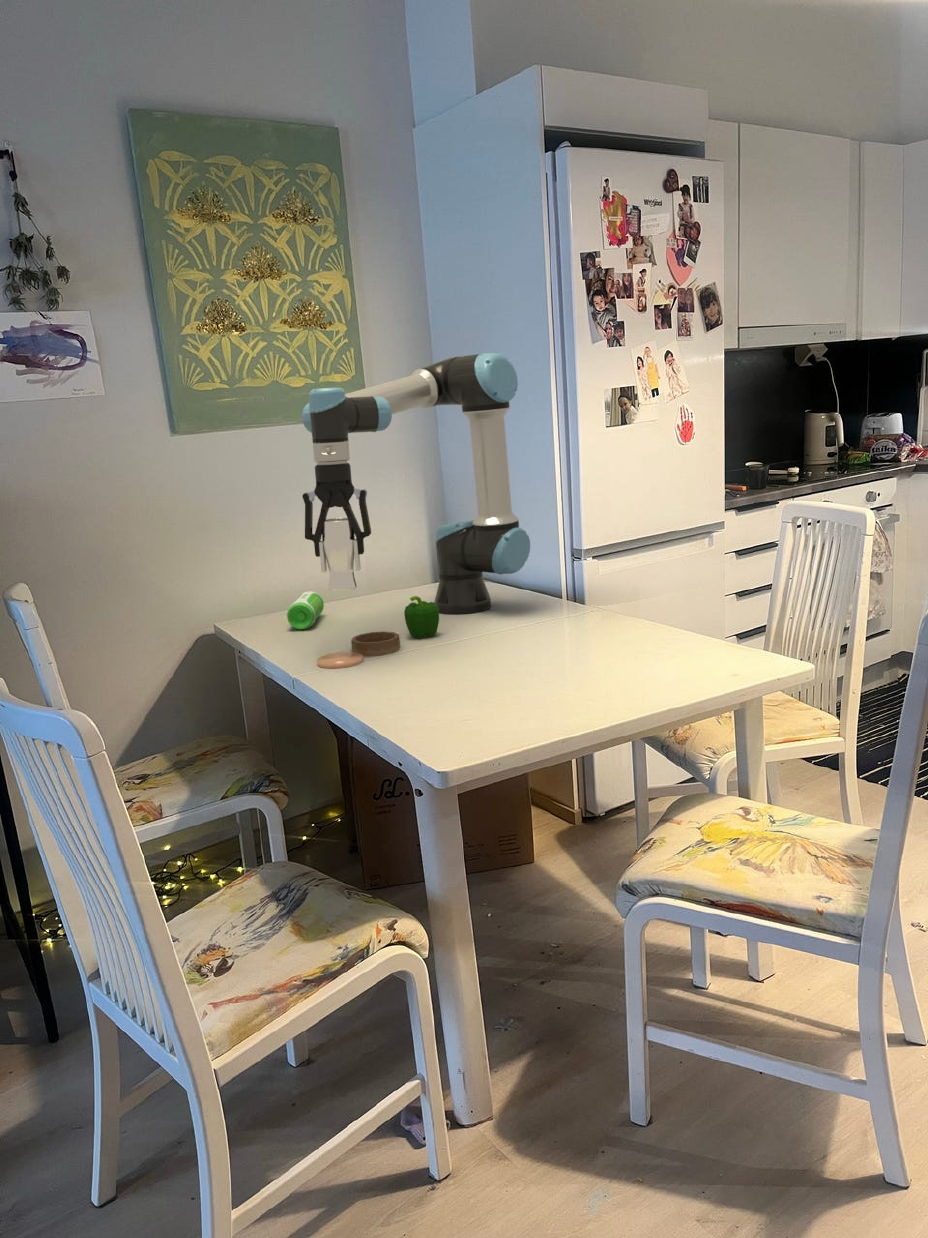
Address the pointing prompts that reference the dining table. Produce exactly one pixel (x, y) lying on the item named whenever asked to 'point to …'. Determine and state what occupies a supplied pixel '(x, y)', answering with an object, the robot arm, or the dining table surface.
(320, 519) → the robot arm
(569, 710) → the dining table surface
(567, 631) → the dining table surface
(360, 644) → the walnut collar
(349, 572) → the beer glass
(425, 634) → the bell pepper
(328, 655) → the pinkish-brown smooth disc
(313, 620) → the speaker
